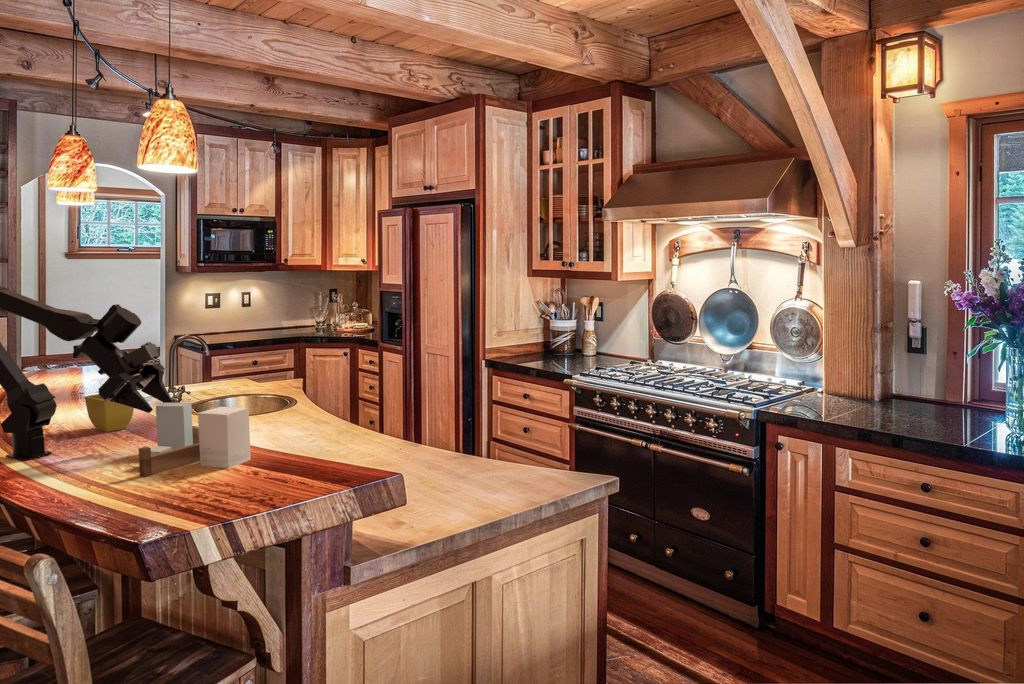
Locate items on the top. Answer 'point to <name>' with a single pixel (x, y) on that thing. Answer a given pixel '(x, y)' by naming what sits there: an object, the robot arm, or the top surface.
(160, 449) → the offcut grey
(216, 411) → the supplement box
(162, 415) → the block
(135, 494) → the top surface
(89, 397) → the flower pot
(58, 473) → the top surface
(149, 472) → the frame
